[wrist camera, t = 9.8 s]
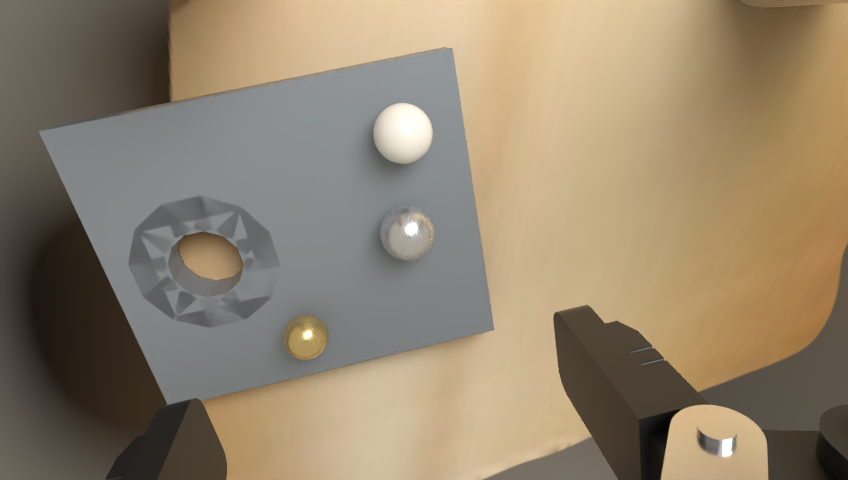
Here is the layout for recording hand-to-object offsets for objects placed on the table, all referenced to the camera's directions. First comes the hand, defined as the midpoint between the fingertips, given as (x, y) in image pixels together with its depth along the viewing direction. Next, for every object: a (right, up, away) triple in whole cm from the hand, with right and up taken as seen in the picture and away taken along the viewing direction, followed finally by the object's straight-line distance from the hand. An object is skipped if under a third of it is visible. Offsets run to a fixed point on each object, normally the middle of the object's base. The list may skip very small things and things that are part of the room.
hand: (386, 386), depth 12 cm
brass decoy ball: (-7, -3, +23) cm, 24 cm away
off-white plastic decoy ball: (0, +10, +19) cm, 21 cm away
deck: (-8, +4, +25) cm, 26 cm away
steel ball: (0, +4, +21) cm, 22 cm away
